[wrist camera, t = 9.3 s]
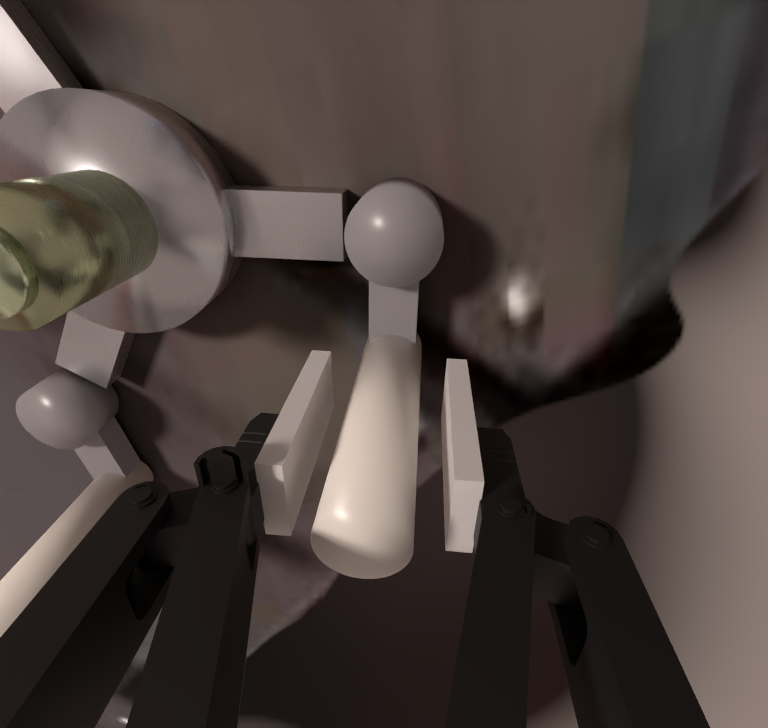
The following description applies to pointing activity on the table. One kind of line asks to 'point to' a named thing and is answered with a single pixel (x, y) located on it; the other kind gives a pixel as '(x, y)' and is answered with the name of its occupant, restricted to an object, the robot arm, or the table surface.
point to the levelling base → (163, 180)
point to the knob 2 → (381, 388)
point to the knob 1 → (99, 455)
